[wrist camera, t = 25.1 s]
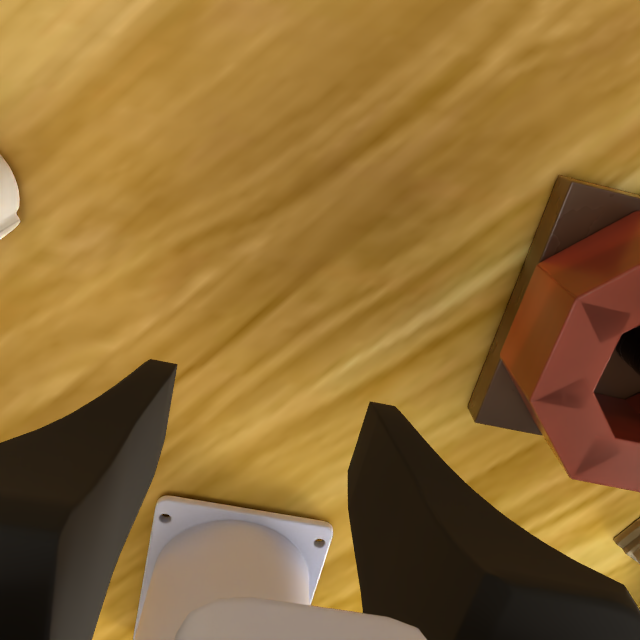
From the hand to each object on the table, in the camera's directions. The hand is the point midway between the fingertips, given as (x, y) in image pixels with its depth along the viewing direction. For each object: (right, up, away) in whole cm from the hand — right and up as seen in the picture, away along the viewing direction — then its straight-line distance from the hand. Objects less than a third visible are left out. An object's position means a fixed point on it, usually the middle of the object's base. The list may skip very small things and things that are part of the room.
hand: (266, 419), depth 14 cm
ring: (+13, +2, +9) cm, 16 cm away
